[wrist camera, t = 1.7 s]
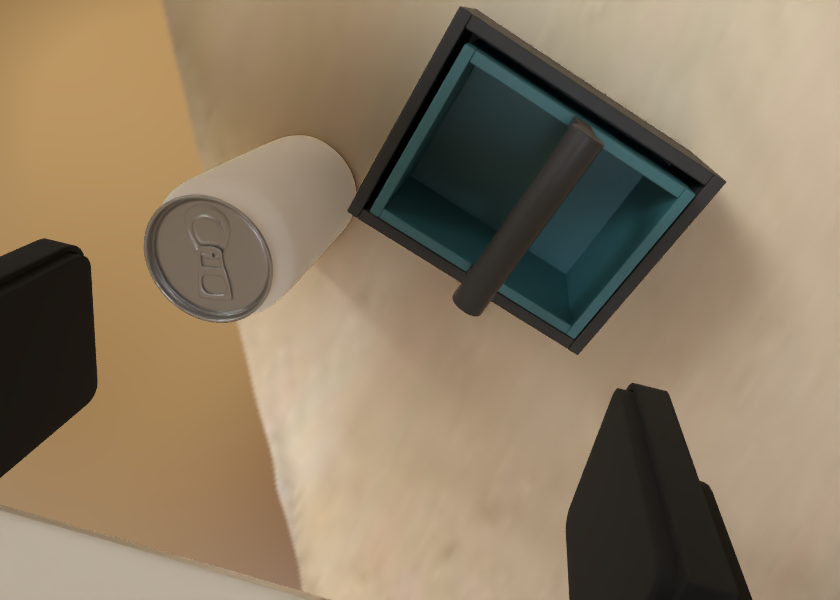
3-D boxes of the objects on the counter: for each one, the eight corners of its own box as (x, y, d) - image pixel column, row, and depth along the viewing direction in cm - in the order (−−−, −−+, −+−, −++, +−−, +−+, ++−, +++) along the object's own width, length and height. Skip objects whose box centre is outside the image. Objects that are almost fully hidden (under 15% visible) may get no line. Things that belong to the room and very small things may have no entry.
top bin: (399, 176, 34) (344, 239, 24) (479, 38, 31) (453, 47, 21) (567, 282, 35) (579, 383, 25) (664, 160, 32) (722, 223, 22)
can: (357, 135, 34) (275, 188, 24) (360, 245, 37) (288, 338, 26) (247, 130, 35) (120, 179, 24) (258, 238, 38) (147, 325, 27)
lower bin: (378, 179, 35) (346, 211, 29) (474, 8, 31) (460, 5, 25) (570, 300, 36) (577, 355, 30) (691, 151, 32) (727, 181, 26)
